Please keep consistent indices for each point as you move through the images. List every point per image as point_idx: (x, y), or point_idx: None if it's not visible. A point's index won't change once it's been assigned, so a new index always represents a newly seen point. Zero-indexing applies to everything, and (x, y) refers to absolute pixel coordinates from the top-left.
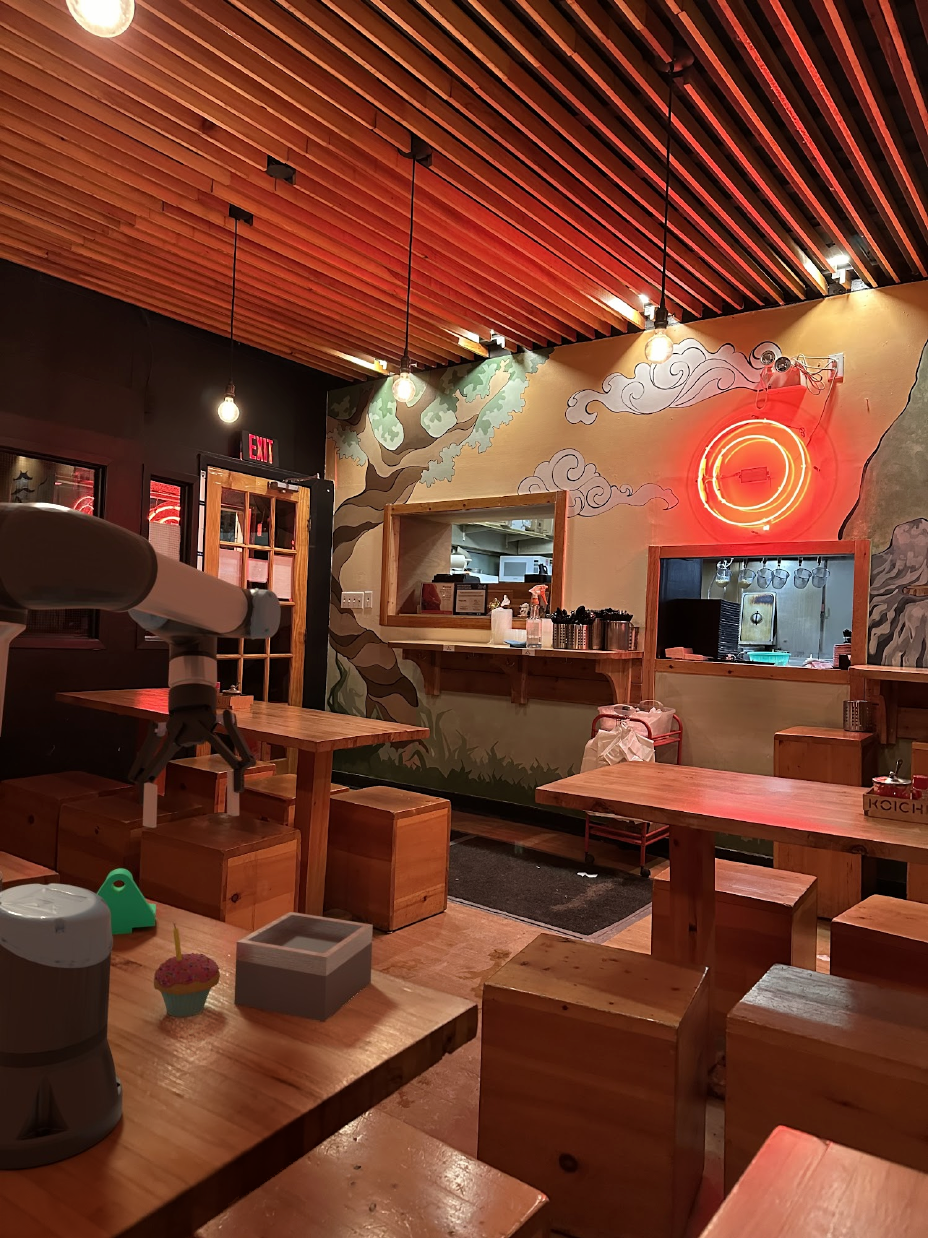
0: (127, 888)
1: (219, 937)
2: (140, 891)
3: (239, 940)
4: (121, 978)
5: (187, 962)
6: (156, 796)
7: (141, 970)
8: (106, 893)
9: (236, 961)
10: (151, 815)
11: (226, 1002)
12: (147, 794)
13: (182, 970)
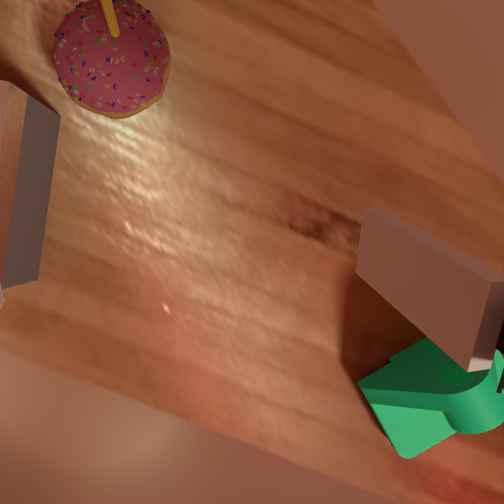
0: (438, 384)
1: (224, 383)
2: (416, 408)
3: (6, 89)
4: (291, 166)
5: (92, 23)
6: (428, 330)
7: (278, 205)
8: None
9: (28, 95)
10: (381, 251)
11: (76, 119)
12: (447, 253)
13: (93, 6)
